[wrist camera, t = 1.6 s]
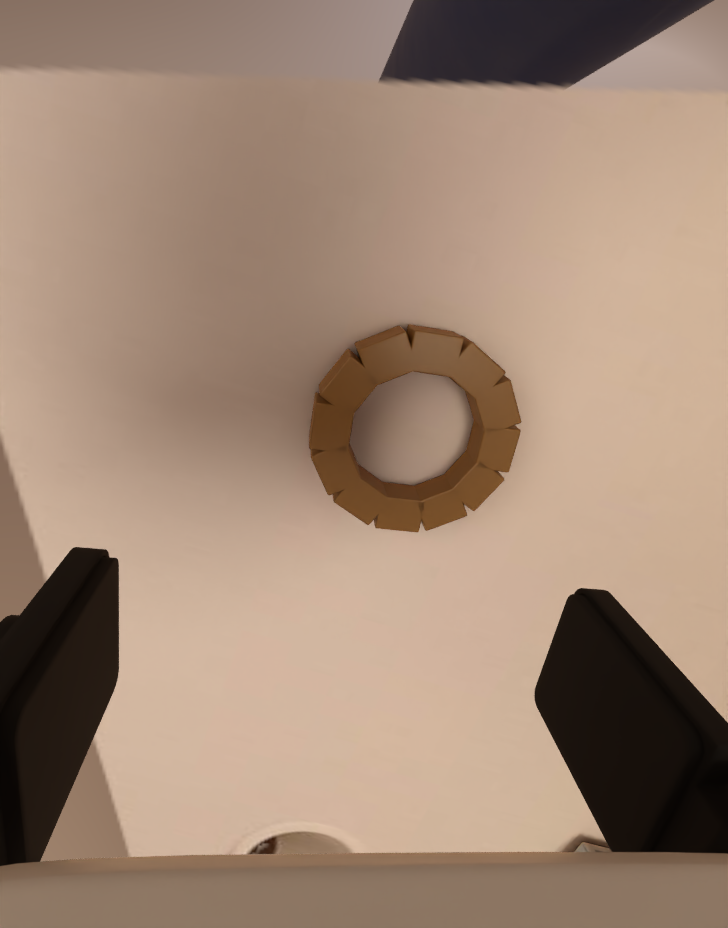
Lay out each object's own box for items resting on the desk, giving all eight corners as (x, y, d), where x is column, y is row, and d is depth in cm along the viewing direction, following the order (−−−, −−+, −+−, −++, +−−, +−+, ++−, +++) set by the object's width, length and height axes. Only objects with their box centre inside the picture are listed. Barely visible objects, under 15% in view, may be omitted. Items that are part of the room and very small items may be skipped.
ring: (326, 310, 21) (327, 315, 20) (529, 343, 22) (545, 350, 21) (300, 504, 24) (299, 520, 23) (479, 522, 26) (489, 540, 24)
